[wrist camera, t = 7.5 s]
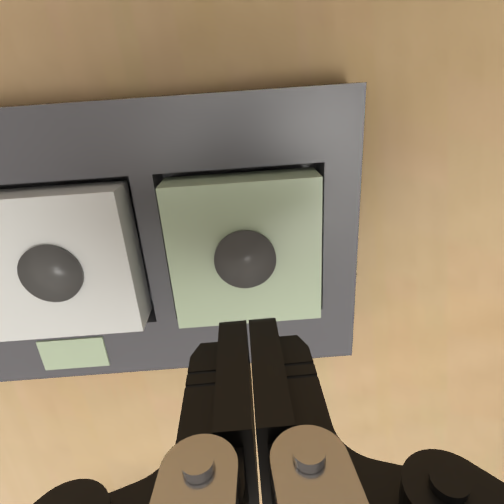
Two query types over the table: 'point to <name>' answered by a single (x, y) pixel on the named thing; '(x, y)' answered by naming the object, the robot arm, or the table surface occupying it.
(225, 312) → the key sage
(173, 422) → the table surface
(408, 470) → the robot arm
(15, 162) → the grey flat board
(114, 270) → the key white
